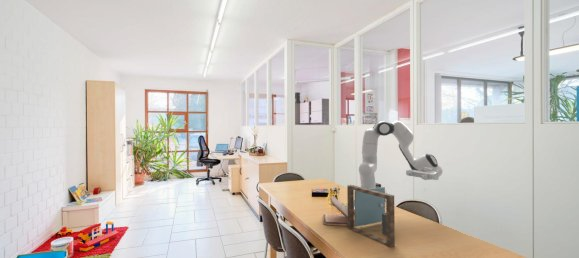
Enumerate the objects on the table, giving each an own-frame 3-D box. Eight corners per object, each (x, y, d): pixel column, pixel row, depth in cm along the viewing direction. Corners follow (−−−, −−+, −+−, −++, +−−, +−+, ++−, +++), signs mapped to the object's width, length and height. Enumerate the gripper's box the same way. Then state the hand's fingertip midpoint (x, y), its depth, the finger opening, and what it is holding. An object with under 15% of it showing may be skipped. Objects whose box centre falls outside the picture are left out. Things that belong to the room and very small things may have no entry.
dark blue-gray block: (382, 233, 162) (381, 214, 162) (388, 231, 166) (388, 212, 165) (388, 235, 159) (388, 216, 158) (394, 233, 162) (394, 214, 162)
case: (355, 227, 174) (354, 202, 174) (323, 225, 177) (322, 201, 177) (352, 216, 194) (352, 194, 194) (323, 215, 197) (323, 194, 197)
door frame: (347, 228, 171) (347, 185, 171) (351, 227, 173) (350, 184, 172) (391, 247, 144) (390, 196, 143) (394, 245, 145) (394, 195, 145)
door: (357, 227, 168) (357, 191, 167) (354, 226, 171) (354, 190, 170) (387, 221, 177) (386, 187, 177) (383, 220, 180) (383, 186, 180)
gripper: (412, 167, 195) (401, 169, 187) (440, 170, 178) (429, 173, 170) (412, 175, 195) (401, 177, 188) (440, 180, 178) (429, 182, 170)
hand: (414, 175), depth 179 cm, fingers open, 8 cm apart
